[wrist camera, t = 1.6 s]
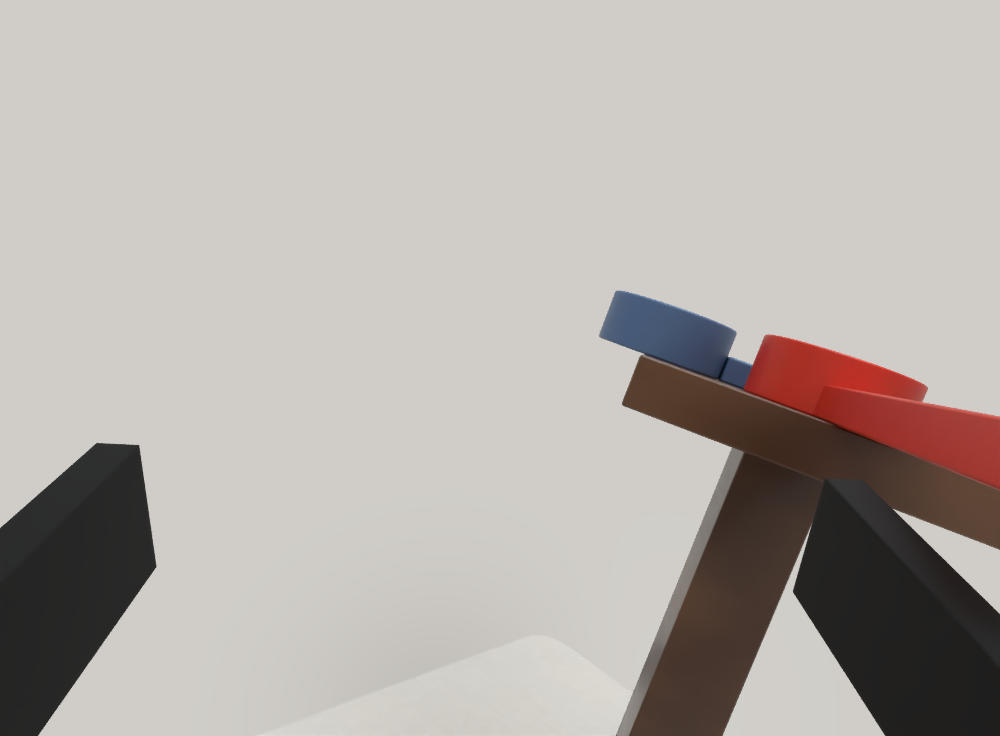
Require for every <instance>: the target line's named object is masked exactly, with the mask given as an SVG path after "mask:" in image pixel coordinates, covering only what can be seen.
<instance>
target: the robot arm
mask: <svg viewBox="0 0 1000 736" xmlns="http://www.w3.org/2000/svg"><path fill="white" fill-rule="evenodd" d="M155 568H156V561H155V553H154V546H153V539H152V532H151V525H150V518H149V511H148V505H147V498H146V490H145V483H144V476H143V469H142V462H141V455H140V448H139V445H126V444H103V443H96V444H95V445H94V446H93V447H92V448H91V449H90V450H89V451H87V452H86V453H85V454H84V455H83V456H82V457H81V458H80V459H78V460H77V461H76V462H75V463H74V464H73V465H71V466H70V467H69V468H68V469H67V470H66V471H65V472H63V473H62V474H61V475H60V476H59V477H58V478H57V479H56V480H54V481H53V482H52V483H51V484H50V485H49V486H48V487H46V488H45V489H44V490H43V491H42V492H41V493H40V494H38V495H37V496H36V497H35V498H34V499H33V500H32V501H31V502H29V503H28V504H27V505H26V506H25V507H24V508H23V509H21V510H20V511H19V512H18V513H17V514H16V515H15V516H13V517H12V518H11V519H10V520H9V521H8V522H7V523H6V524H4V525H3V526H2V527H1V528H0V736H38V735H39V733H40V732H41V730H42V729H43V728H44V726H45V725H46V723H47V722H48V721H49V719H50V717H51V716H52V715H53V713H54V712H55V711H56V709H57V708H58V706H59V705H60V703H61V702H62V701H63V699H64V698H65V696H66V695H67V693H68V692H69V691H70V689H71V688H72V686H73V685H74V684H75V682H76V681H77V679H78V678H79V676H80V675H81V673H82V672H83V671H84V669H85V668H86V666H87V665H88V663H89V662H90V661H91V659H92V658H93V656H94V655H95V654H96V652H97V650H98V649H99V648H100V646H101V645H102V643H103V642H104V641H105V639H106V638H107V636H108V635H109V634H110V632H111V631H112V629H113V628H114V626H115V625H116V624H117V622H118V621H119V619H120V618H121V617H122V615H123V613H124V612H125V611H126V609H127V608H128V606H129V605H130V604H131V602H132V601H133V599H134V598H135V596H136V595H137V594H138V592H139V591H140V589H141V588H142V586H143V585H144V584H145V582H146V581H147V579H148V578H149V577H150V575H151V574H152V572H153V571H154V570H155ZM793 593H794V594H795V596H796V598H797V599H798V600H799V602H800V604H801V605H802V607H803V608H804V610H805V611H806V613H807V615H808V616H809V618H810V619H811V621H812V622H813V624H814V626H815V627H816V629H817V630H818V632H819V633H820V635H821V636H822V638H823V639H824V641H825V643H826V644H827V646H828V647H829V649H830V650H831V652H832V654H833V655H834V657H835V658H836V660H837V661H838V663H839V664H840V666H841V668H842V669H843V671H844V672H845V674H846V675H847V677H848V678H849V680H850V682H851V683H852V684H853V686H854V688H855V689H856V691H857V693H858V694H859V696H860V697H861V699H862V700H863V702H864V703H865V705H866V706H867V708H868V710H869V711H870V713H871V714H872V716H873V717H874V719H875V721H876V722H877V724H878V725H879V727H880V728H881V730H882V731H883V733H884V735H885V736H1000V614H999V613H998V612H997V611H996V610H995V609H994V608H993V607H992V606H991V605H990V604H989V603H988V602H987V601H986V600H985V599H984V598H983V597H982V596H981V595H980V594H979V593H978V592H977V591H976V590H975V589H973V587H972V586H971V585H969V584H968V583H967V582H966V581H965V580H964V579H963V578H962V577H961V576H960V575H959V574H958V573H957V572H956V571H955V570H954V569H953V568H952V567H951V566H950V565H949V564H948V563H947V562H946V561H945V560H944V559H943V558H942V557H941V556H940V555H939V554H938V553H937V552H936V551H935V550H934V549H933V548H932V547H931V546H930V545H929V544H927V542H925V541H924V539H923V538H922V537H920V535H918V534H917V533H916V532H915V531H914V530H913V529H912V528H911V527H910V526H909V525H908V524H907V523H906V522H905V521H904V520H903V519H902V518H901V517H900V516H899V515H898V514H897V513H896V512H895V511H894V510H893V509H892V508H891V507H890V506H889V505H888V504H887V503H886V502H885V501H884V500H883V499H882V498H881V497H880V496H879V495H878V494H877V493H876V492H875V491H874V490H873V489H872V488H871V487H869V486H868V485H867V484H866V483H865V482H864V481H863V480H851V479H830V478H825V480H824V484H823V487H822V491H821V494H820V498H819V501H818V505H817V508H816V512H815V515H814V519H813V522H812V526H811V530H810V533H809V537H808V541H807V544H806V547H805V551H804V554H803V558H802V561H801V565H800V568H799V572H798V575H797V579H796V582H795V586H794V589H793Z"/></svg>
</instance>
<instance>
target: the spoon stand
mask: <svg viewBox="0 0 1000 736" xmlns="http://www.w3.org/2000/svg"><path fill="white" fill-rule="evenodd" d="M622 405H623V406H625V407H628V408H630V409H633V410H636V411H638V412H641V413H643V414H646V415H649V416H651V417H654V418H657V419H659V420H662V421H664V422H667V423H670V424H673V425H675V426H678V427H680V428H683V429H685V430H688V431H690V432H693V433H696V434H698V435H701V436H704V437H706V438H709V439H711V440H714V441H717V442H719V443H722V444H725V445H727V446H730V447H732V449H731V451H730V454H729V456H728V459H727V461H726V464H725V466H724V469H723V471H722V474H721V476H720V479H719V481H718V484H717V486H716V489H715V491H714V494H713V496H712V499H711V501H710V504H709V506H708V508H707V511H706V513H705V516H704V519H703V521H702V523H701V526H700V528H699V531H698V533H697V536H696V538H695V541H694V543H693V546H692V548H691V551H690V553H689V556H688V558H687V560H686V563H685V566H684V568H683V571H682V573H681V575H680V578H679V580H678V583H677V585H676V588H675V590H674V593H673V595H672V598H671V600H670V603H669V605H668V608H667V610H666V612H665V615H664V617H663V620H662V623H661V625H660V627H659V630H658V632H657V635H656V637H655V640H654V642H653V645H652V647H651V650H650V652H649V655H648V657H647V660H646V662H645V665H644V667H643V669H642V672H641V674H640V677H639V680H638V682H637V685H636V687H635V690H634V692H633V694H632V697H631V699H630V702H629V704H628V707H627V709H626V712H625V714H624V717H623V719H622V722H621V724H620V726H619V729H618V731H617V734H616V736H723V733H724V731H725V728H726V726H727V724H728V721H729V719H730V716H731V714H732V712H733V709H734V707H735V705H736V702H737V700H738V698H739V695H740V693H741V691H742V688H743V686H744V683H745V681H746V679H747V676H748V674H749V671H750V669H751V667H752V664H753V662H754V659H755V657H756V655H757V652H758V650H759V648H760V645H761V643H762V641H763V638H764V636H765V634H766V631H767V629H768V626H769V624H770V622H771V619H772V617H773V615H774V612H775V610H776V607H777V605H778V603H779V600H780V598H781V596H782V593H783V591H784V589H785V586H786V584H787V581H788V579H789V577H790V574H791V572H792V570H793V567H794V565H795V562H796V560H797V558H798V555H799V553H800V551H801V548H802V546H803V544H804V541H805V539H806V536H807V534H808V532H809V529H810V527H811V525H812V522H813V519H814V515H815V512H816V508H817V505H818V501H819V498H820V494H821V491H822V487H823V484H824V480H825V478H830V479H851V480H863V481H864V482H865V483H866V484H867V485H868V486H869V487H871V488H872V489H873V490H874V491H875V492H876V493H877V494H878V495H879V496H880V497H881V498H882V499H883V500H884V501H885V502H886V503H887V504H888V505H889V506H890V507H891V508H892V509H895V510H897V511H900V512H903V513H905V514H908V515H911V516H913V517H916V518H918V519H921V520H923V521H926V522H929V523H931V524H934V525H937V526H939V527H942V528H944V529H947V530H950V531H952V532H955V533H957V534H960V535H963V536H965V537H968V538H970V539H973V540H976V541H979V542H981V543H984V544H986V545H989V546H991V547H994V548H997V549H999V550H1000V491H999V490H997V489H994V488H992V487H989V486H987V485H984V484H982V483H979V482H977V481H974V480H972V479H969V478H967V477H964V476H962V475H959V474H957V473H954V472H952V471H949V470H947V469H944V468H942V467H939V466H937V465H934V464H932V463H929V462H927V461H924V460H922V459H919V458H917V457H914V456H912V455H909V454H907V453H904V452H902V451H899V450H897V449H894V448H892V447H889V446H887V445H884V444H882V443H879V442H877V441H874V440H872V439H869V438H867V437H864V436H862V435H859V434H857V433H854V432H852V431H849V430H847V429H844V428H842V427H839V426H837V425H834V424H832V423H829V422H827V421H824V420H822V419H819V418H817V417H814V416H812V415H809V414H806V413H803V412H801V411H798V410H795V409H793V408H790V407H787V406H784V405H782V404H779V403H776V402H774V401H771V400H768V399H765V398H763V397H760V396H757V395H755V394H752V393H750V392H747V391H745V390H743V389H741V388H738V387H735V386H732V385H730V384H727V383H724V382H722V381H719V380H717V379H713V378H710V377H707V376H704V375H702V374H699V373H696V372H693V371H690V370H688V369H685V368H682V367H679V366H677V365H674V364H671V363H668V362H665V361H663V360H660V359H657V358H654V357H652V356H649V355H646V354H645V355H641V356H640V357H639V360H638V363H637V365H636V368H635V370H634V373H633V376H632V378H631V381H630V384H629V386H628V389H627V391H626V394H625V396H624V399H623V402H622Z"/></svg>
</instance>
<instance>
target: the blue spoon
mask: <svg viewBox="0 0 1000 736" xmlns="http://www.w3.org/2000/svg"><path fill="white" fill-rule="evenodd" d="M599 337H601V338H603V339H605V340H608V341H611V342H613V343H617V344H619V345H622V346H625V347H627V348H630V349H632V350H635V351H638V352H641V353H644V354H646V355H649V356H652V357H654V358H657V359H660V360H663V361H665V362H668V363H671V364H674V365H677V366H679V367H682V368H685V369H688V370H690V371H693V372H696V373H699V374H702V375H704V376H707V377H710V378H713V379H718V380H719V381H722V382H724V383H727V384H730V385H732V386H735V387H738V388H741V389H743V390H744V386H745V383H746V381H747V378H748V376H749V373H750V371H751V368H752V366H753V365H752V364H749V363H746V362H743V361H741V360H738V359H735V358H731V357H728V354H729V351H730V349H731V347H732V344H733V342H734V339H735V337H736V331H734V330H733V329H731V328H729V327H727V326H725V325H723V324H720V323H718V322H716V321H713V320H711V319H708V318H705V317H703V316H700V315H698V314H695V313H692V312H689V311H687V310H684V309H681V308H678V307H675V306H672V305H669V304H666V303H663V302H660V301H657V300H654V299H651V298H647V297H644V296H640V295H637V294H633V293H629V292H625V291H616V292H615V295H614V297H613V300H612V302H611V305H610V307H609V310H608V313H607V315H606V318H605V321H604V324H603V326H602V329H601V332H600V334H599Z"/></svg>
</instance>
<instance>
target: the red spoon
mask: <svg viewBox="0 0 1000 736" xmlns="http://www.w3.org/2000/svg"><path fill="white" fill-rule="evenodd" d="M744 390H745V391H747V392H750V393H752V394H755V395H757V396H760V397H763V398H765V399H768V400H771V401H774V402H776V403H779V404H782V405H784V406H787V407H790V408H793V409H795V410H798V411H801V412H803V413H806V414H809V415H812V416H814V417H817V418H819V419H822V420H824V421H827V422H829V423H832V424H834V425H837V426H839V427H842V428H844V429H847V430H849V431H852V432H854V433H857V434H859V435H862V436H864V437H867V438H869V439H872V440H874V441H877V442H879V443H882V444H884V445H887V446H889V447H892V448H894V449H897V450H899V451H902V452H904V453H907V454H909V455H912V456H914V457H917V458H919V459H922V460H924V461H927V462H929V463H932V464H934V465H937V466H939V467H942V468H944V469H947V470H949V471H952V472H954V473H957V474H959V475H962V476H964V477H967V478H969V479H972V480H974V481H977V482H979V483H982V484H984V485H987V486H989V487H992V488H994V489H997V490H999V491H1000V417H999V416H994V415H988V414H983V413H978V412H972V411H967V410H961V409H956V408H950V407H944V406H940V405H934V404H929V403H923V402H922V401H923V399H924V397H925V394H926V392H927V390H928V387H926V386H925V385H924V384H922V383H920V382H918V381H916V380H914V379H912V378H909V377H906V376H904V375H902V374H899V373H897V372H894V371H891V370H889V369H886V368H883V367H880V366H878V365H875V364H872V363H869V362H866V361H863V360H860V359H857V358H854V357H851V356H848V355H845V354H842V353H839V352H836V351H832V350H829V349H826V348H822V347H819V346H815V345H812V344H808V343H805V342H801V341H798V340H794V339H790V338H786V337H781V336H776V335H765V336H764V339H763V341H762V344H761V346H760V349H759V351H758V354H757V356H756V359H755V361H754V364H753V366H752V368H751V371H750V373H749V376H748V378H747V381H746V383H745V386H744Z"/></svg>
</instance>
